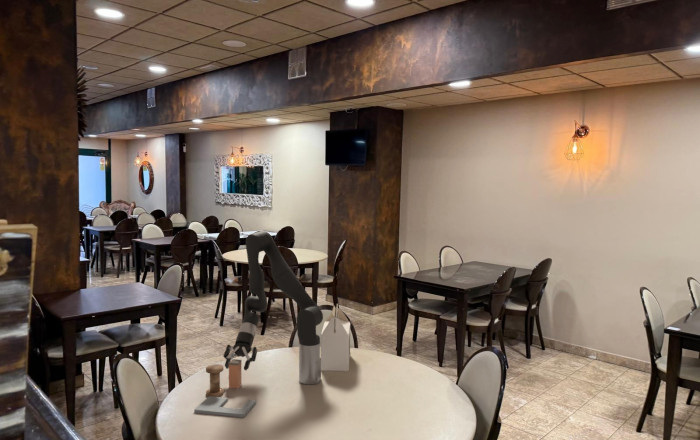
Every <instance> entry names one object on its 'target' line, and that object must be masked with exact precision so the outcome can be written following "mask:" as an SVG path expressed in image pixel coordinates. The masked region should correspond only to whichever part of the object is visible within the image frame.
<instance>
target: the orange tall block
mask: <svg viewBox="0 0 700 440" xmlns="http://www.w3.org/2000/svg"><path fill="white" fill-rule="evenodd" d="M241 386H242V359H238V358H237V359H236V358H233V359H232V360H230V362H229V368H228V388H229V387H230V388H232V389H239V388H240V387H241Z"/></svg>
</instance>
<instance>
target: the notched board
mask: <svg viewBox="0 0 700 440" xmlns="http://www.w3.org/2000/svg"><path fill="white" fill-rule="evenodd" d="M227 402H228V397H223V396H222V397H221V396H219V397H214V396H209V397H208V396H207V397H206V398H205V399H204V400H203V401H202V402H201V403H200V404H199V405H198V406H196V408H194V409H193V410H194V412H193V413H195V414H204V415H214V416H225V417H235V418H245V417H246V416H247V415H248V413H249V412H250V411H251V410H252V408H253V407H254V406H255V405H256V404H257V400H255V399H254V400H253V399H248V400H247V401H246V402H245V403H244V404H243V406H241V408H237V407H235V408H234V407H226V406H225V407H223V406H224V405H225V404H226V403H227Z"/></svg>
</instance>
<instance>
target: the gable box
mask: <svg viewBox="0 0 700 440" xmlns="http://www.w3.org/2000/svg"><path fill="white" fill-rule="evenodd" d="M338 306H339V303H336V305H333V306H332V310H331V313H330V315H329V316H328V317H327V319H326V320H325V321H324V323H323V326H322V330H321V334H320V358H321V372H323V371H324V372H328V371H329V372H334V371H335V372H349V371H350V370H349V368H350V358H351V322H350V321H349V319H348V318H347V316H346V314H345V313H344V312H343V310H342V309H341V308H339V307H338Z"/></svg>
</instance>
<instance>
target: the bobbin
mask: <svg viewBox="0 0 700 440" xmlns="http://www.w3.org/2000/svg"><path fill="white" fill-rule="evenodd" d="M223 371H224V365H223V364H219V363H218V364H216V363H215V364H210V365H208V366H206V367H205V372H206V373H207V374H209V388H207V390H206V391H205V392H206V393H205V395H206V397H207V398H208V397H209V396H214V397H221V396H223V395H224V394H223V393H225V391H224V388H223V387H221V374H220V373H222V372H223Z"/></svg>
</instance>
